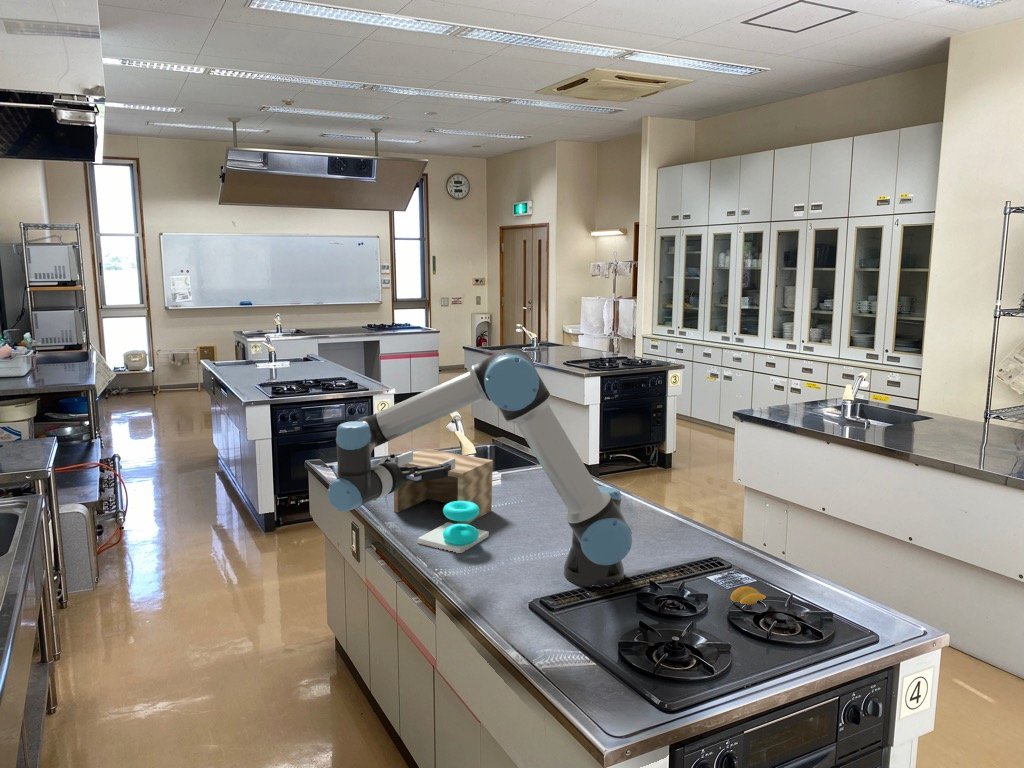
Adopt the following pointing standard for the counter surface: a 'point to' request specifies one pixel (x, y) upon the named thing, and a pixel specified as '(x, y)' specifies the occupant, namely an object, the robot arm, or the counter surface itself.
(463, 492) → the tunnel
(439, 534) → the platter
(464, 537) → the donuts
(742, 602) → the bread roll
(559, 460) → the robot arm
